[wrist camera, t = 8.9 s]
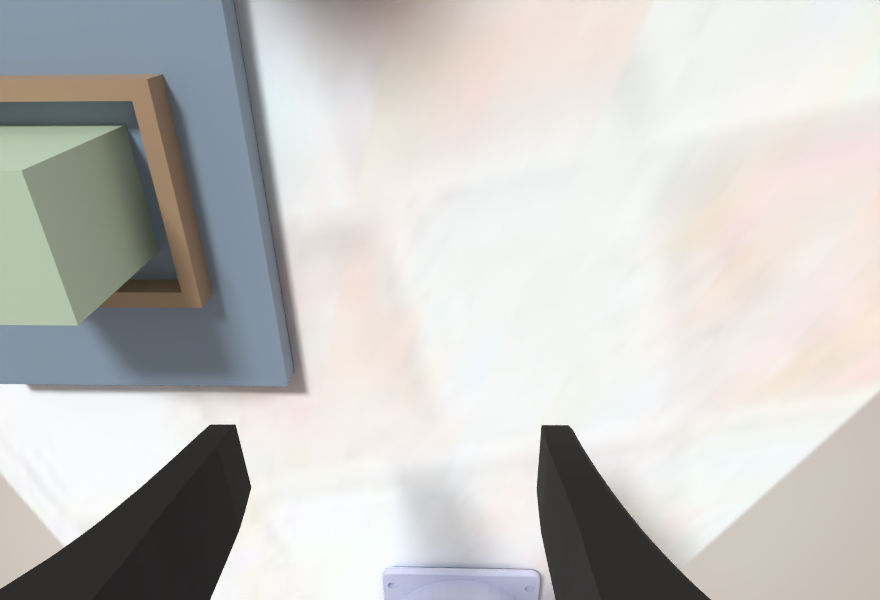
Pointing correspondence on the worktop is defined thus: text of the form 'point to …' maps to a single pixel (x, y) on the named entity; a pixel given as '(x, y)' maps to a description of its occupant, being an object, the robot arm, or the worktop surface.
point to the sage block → (68, 221)
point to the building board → (156, 192)
